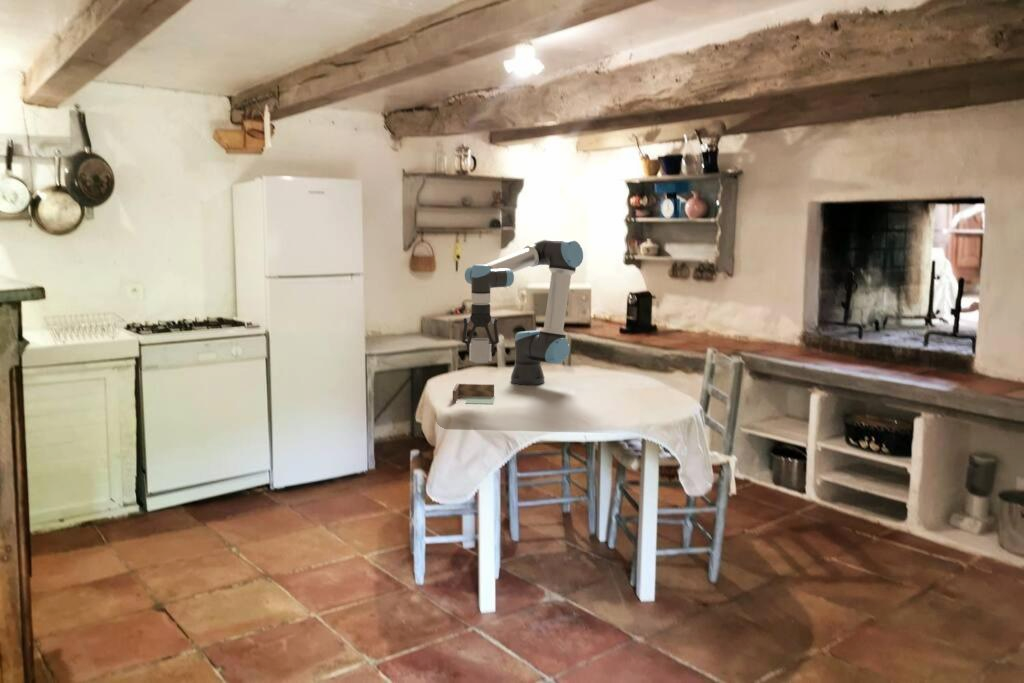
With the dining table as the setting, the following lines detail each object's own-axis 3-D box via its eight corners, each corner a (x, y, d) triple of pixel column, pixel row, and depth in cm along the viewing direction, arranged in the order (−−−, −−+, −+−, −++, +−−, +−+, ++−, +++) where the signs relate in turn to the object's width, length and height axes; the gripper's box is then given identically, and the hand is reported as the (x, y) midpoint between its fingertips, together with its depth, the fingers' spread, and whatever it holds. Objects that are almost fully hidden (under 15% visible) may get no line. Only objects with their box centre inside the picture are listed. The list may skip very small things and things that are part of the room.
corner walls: (494, 396, 329) (494, 384, 328) (491, 403, 315) (491, 391, 315) (456, 395, 330) (456, 383, 329) (452, 403, 316) (452, 390, 315)
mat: (495, 397, 327) (494, 396, 327) (492, 404, 315) (492, 403, 315) (468, 396, 327) (468, 396, 327) (465, 403, 315) (465, 403, 315)
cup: (474, 363, 313) (474, 341, 311) (466, 359, 322) (466, 337, 321) (491, 362, 315) (491, 340, 314) (483, 358, 324) (483, 336, 323)
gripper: (506, 303, 318) (506, 359, 322) (456, 302, 319) (456, 358, 323) (505, 305, 311) (505, 362, 314) (454, 304, 312) (454, 361, 315)
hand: (480, 360), depth 319 cm, fingers closed on cup, 7 cm apart
